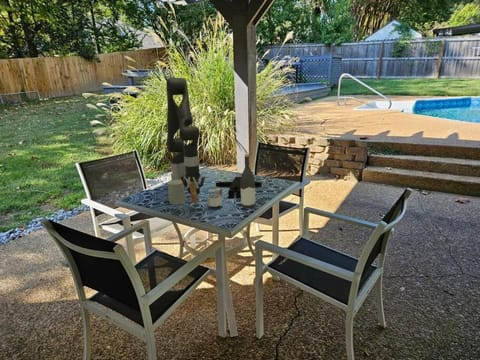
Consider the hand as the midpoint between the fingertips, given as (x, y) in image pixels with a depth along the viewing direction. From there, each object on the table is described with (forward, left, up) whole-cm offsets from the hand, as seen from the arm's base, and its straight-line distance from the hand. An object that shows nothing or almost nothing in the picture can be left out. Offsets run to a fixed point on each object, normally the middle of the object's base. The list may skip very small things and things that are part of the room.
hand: (194, 193), depth 174 cm
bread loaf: (0, 0, -5) cm, 5 cm away
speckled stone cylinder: (-15, +9, -9) cm, 20 cm away
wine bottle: (+28, +10, -9) cm, 31 cm away
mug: (+10, +7, -9) cm, 15 cm away
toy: (+16, +34, -10) cm, 39 cm away
